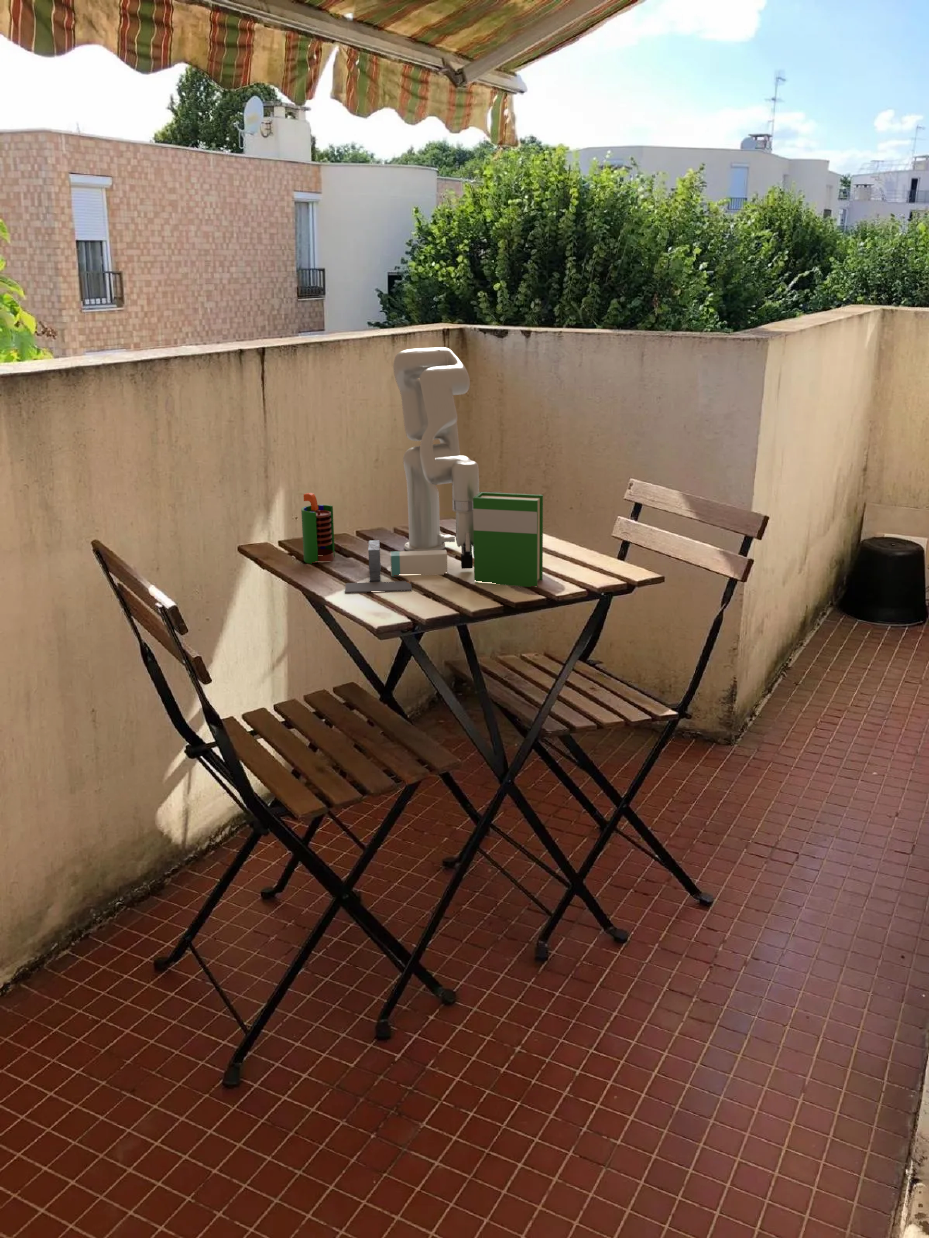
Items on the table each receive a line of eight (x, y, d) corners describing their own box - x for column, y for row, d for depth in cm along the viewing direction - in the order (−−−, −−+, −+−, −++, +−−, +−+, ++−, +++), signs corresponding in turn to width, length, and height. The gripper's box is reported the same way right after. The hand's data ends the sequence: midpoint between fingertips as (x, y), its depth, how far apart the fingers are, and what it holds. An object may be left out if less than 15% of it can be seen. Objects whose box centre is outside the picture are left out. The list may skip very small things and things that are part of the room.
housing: (380, 566, 321) (379, 537, 318) (380, 582, 306) (379, 552, 303) (370, 566, 321) (369, 537, 318) (369, 583, 306) (368, 553, 303)
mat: (411, 582, 305) (411, 580, 305) (411, 591, 298) (411, 589, 298) (346, 584, 304) (345, 583, 304) (344, 593, 297) (344, 591, 297)
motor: (327, 564, 324) (323, 498, 317) (299, 563, 326) (294, 497, 319) (338, 555, 333) (334, 490, 327) (310, 554, 335) (306, 490, 328)
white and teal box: (446, 570, 317) (446, 549, 315) (447, 574, 312) (447, 553, 310) (391, 571, 316) (390, 551, 314) (391, 576, 312) (390, 555, 310)
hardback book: (542, 579, 306) (543, 494, 298) (536, 587, 299) (537, 500, 292) (481, 575, 311) (480, 492, 303) (474, 582, 304) (473, 497, 296)
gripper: (450, 499, 315) (452, 561, 321) (454, 511, 301) (455, 575, 307) (476, 498, 316) (477, 560, 322) (481, 510, 302) (482, 574, 308)
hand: (466, 567), depth 315 cm, fingers closed
